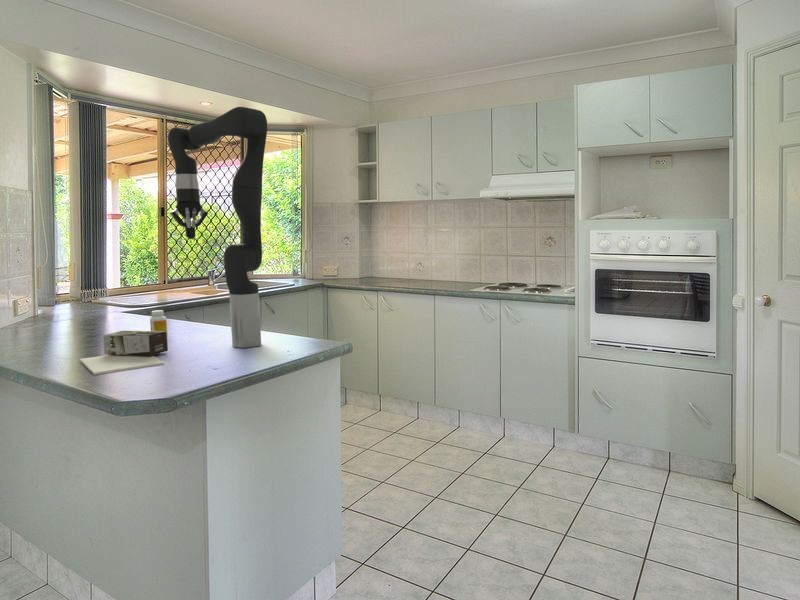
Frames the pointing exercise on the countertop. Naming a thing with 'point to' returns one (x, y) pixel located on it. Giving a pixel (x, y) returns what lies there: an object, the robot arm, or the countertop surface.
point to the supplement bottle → (158, 321)
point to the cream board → (118, 363)
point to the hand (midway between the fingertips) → (190, 238)
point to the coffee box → (135, 343)
